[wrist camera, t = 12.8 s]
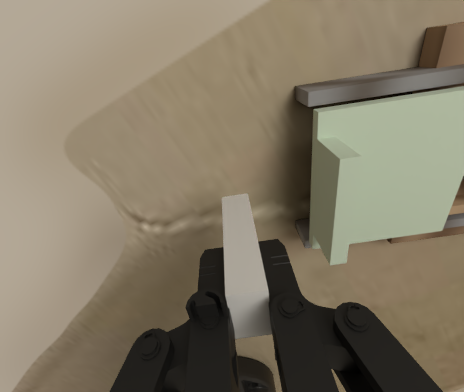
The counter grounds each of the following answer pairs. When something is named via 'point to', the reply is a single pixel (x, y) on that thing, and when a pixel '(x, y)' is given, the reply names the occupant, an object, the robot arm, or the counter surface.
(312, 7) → the counter surface
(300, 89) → the housing
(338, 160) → the lid
